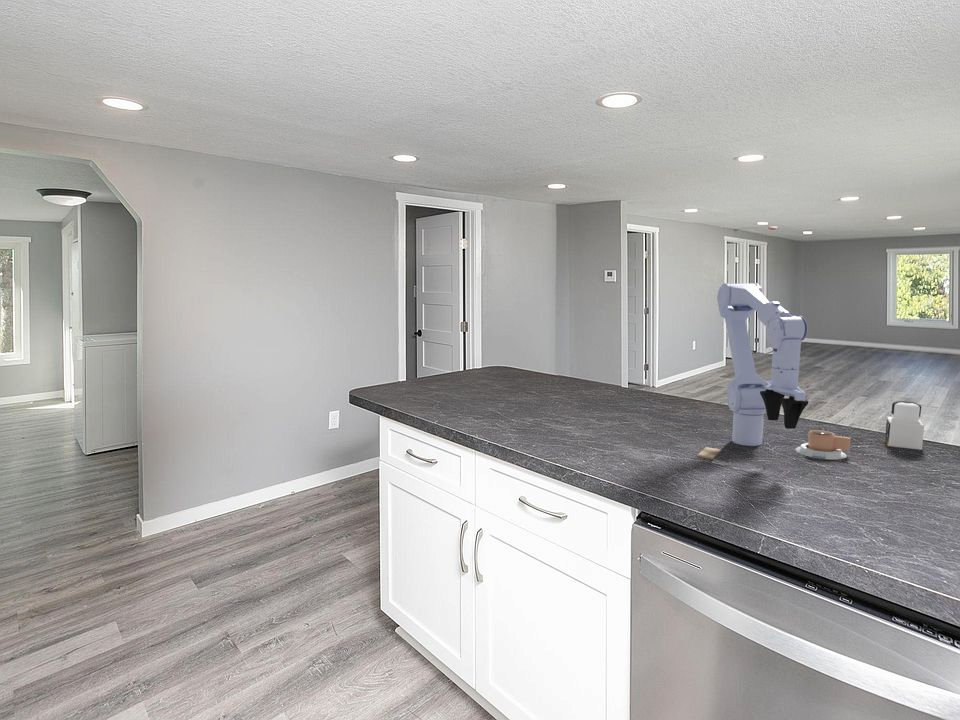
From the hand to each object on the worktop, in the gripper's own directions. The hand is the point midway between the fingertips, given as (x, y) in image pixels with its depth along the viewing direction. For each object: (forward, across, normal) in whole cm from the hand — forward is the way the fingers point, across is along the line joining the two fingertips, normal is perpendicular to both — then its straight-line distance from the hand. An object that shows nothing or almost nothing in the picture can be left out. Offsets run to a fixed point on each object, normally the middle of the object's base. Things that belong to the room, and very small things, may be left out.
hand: (781, 424), depth 135 cm
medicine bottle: (+10, -12, +39) cm, 42 cm away
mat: (+10, -6, -12) cm, 17 cm away
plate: (+10, -5, +14) cm, 17 cm away
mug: (+9, -4, +15) cm, 18 cm away
